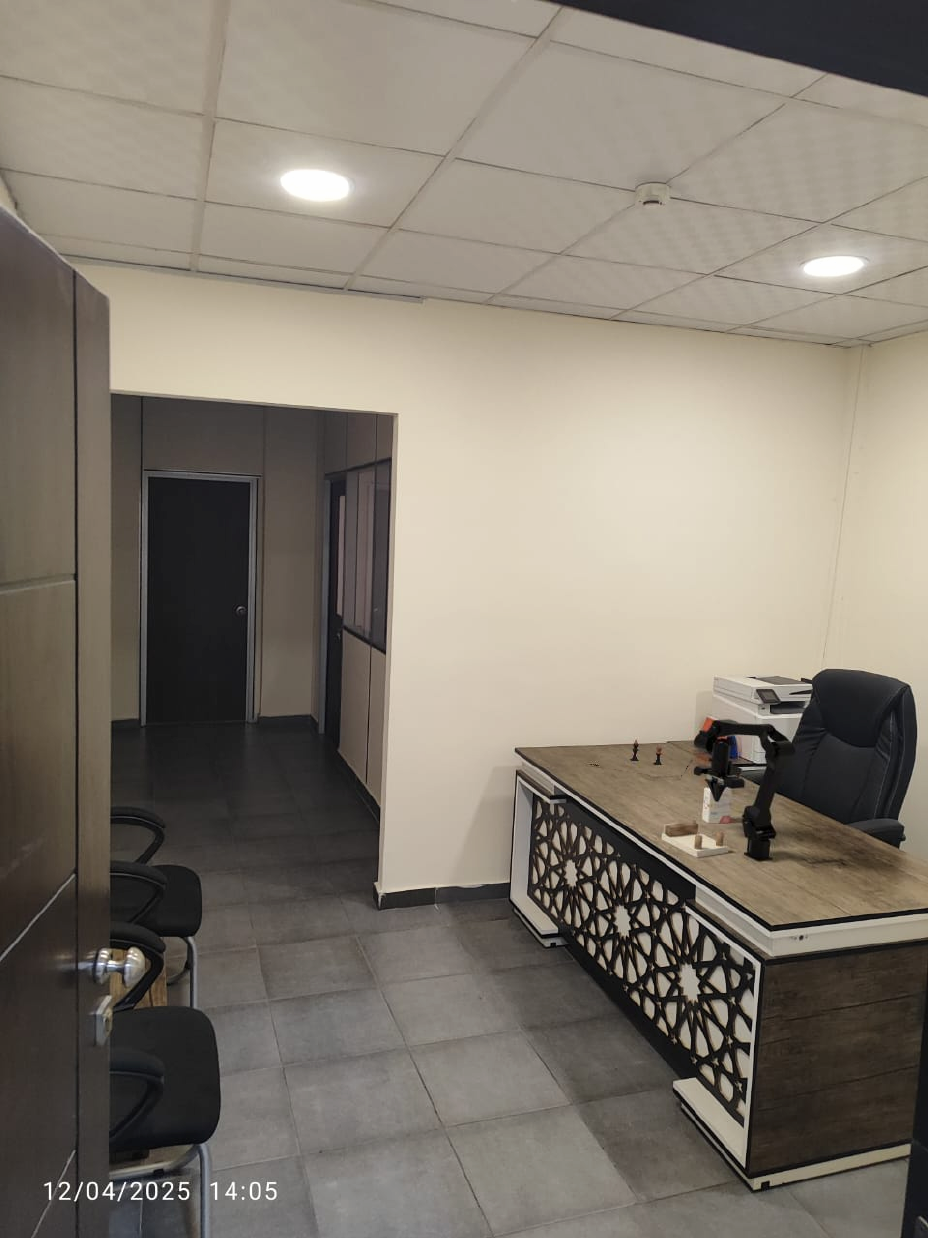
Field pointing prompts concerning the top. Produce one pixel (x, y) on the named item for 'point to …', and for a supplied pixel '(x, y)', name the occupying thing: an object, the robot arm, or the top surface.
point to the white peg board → (697, 843)
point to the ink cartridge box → (717, 807)
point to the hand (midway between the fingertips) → (716, 801)
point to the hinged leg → (681, 829)
